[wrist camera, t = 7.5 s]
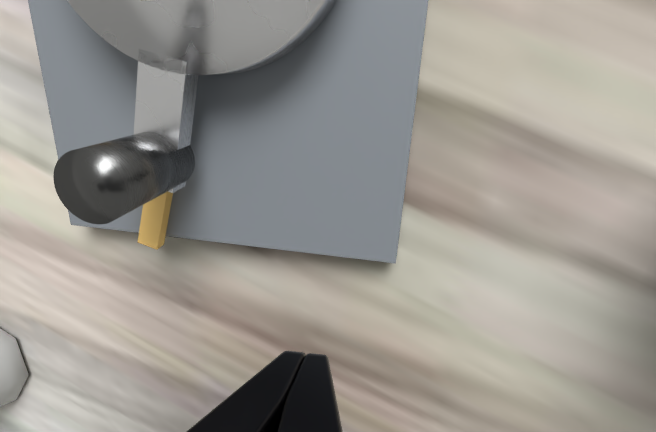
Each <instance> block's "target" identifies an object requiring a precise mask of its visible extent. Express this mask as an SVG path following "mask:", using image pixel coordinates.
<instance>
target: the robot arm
mask: <svg viewBox="0 0 656 432" xmlns="http://www.w3.org/2000/svg"><path fill="white" fill-rule="evenodd" d="M187 432H342V427H341V422H340V417H339V411H338V406H337V401H336V396H335V391H334V386H333V381H332V375H331V370H330V365H329V360H328V357H327V356H326V355H321V354H312V353H309V354H307V355H305V354H304V353H303V352H294V351H285V352H283V353H282V354H280V355H279V356H278V357H277V358H275V359H274V360H273V361H272V362H271V363H269V364H268V365H267V366H266V367H265V368H263V369H262V370H261V371H260V372H258V373H257V374H256V375H255V376H254V377H252V378H251V379H250V380H249V381H247V382H246V383H245V384H244V385H243V386H241V387H240V388H239V389H238V390H237V391H235V392H234V393H233V394H232V395H230V396H229V397H228V398H227V399H226V400H224V401H223V402H222V403H221V404H220V405H218V406H217V407H216V408H215V409H213V410H212V411H211V412H210V413H209V414H207V415H206V416H205V417H204V418H202V419H201V420H200V421H199V422H198V423H196V424H195V425H194V426H193V427H192V428H190V429H189V430H188V431H187Z"/></svg>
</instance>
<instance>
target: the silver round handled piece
mask: <svg viewBox="0 0 656 432" xmlns="http://www.w3.org/2000/svg"><path fill="white" fill-rule="evenodd" d="M67 1H68V2H69V4H70V5H71V6H72V8H73V9H74V10H75V12H76V13H77V14H78V15H79V16H80V17H81V18H82V19H83V20H84V21H85V22H86V23H87V24H88V25H89V27H90V28H91V29H93V30H94V31H95V32H96V33H97V34H98V35H100V36H101V37H102V38H103V39H104V40H105V41H107V42H108V43H109V44H111V45H112V46H114V47H115V48H117V49H118V50H120V51H121V52H123V53H124V54H126V55H128V56H130V57H132V58H134V59H136V60H137V61H138V72H137V88H136V104H135V120H134V135H130V136H126V137H122V138H118V139H114V140H110V141H106V142H103V143H99V144H95V145H91V146H87V147H83V148H79V149H75V150H71V151H69V152H67V153H65V154H64V155H62V156H61V157H60V159H59V160H58V162H57V163H56V166H55V169H54V184H55V189H56V192H57V194H58V196H59V198H60V200H61V201H62V203H63V204H64V206H65V207H66V208H67V209H68V210H69V211H70V212H71V213H72V214H73V215H75V216H76V217H78V218H79V219H81V220H83V221H85V222H88V223H91V224H107V223H110V222H112V221H114V220H116V219H118V218H119V217H121V216H123V215H125V214H127V213H129V212H131V211H132V210H134V209H136V208H138V207H140V206H142V205H144V204H145V203H147V202H149V201H151V200H153V199H155V198H157V197H158V196H160V195H162V194H164V193H166V192H171V193H174V192H176V191H177V190H179V189H181V188H183V187H185V184H186V181H187V180H188V179H189V178H190V177H191V175H192V173H193V171H194V167H195V157H194V153H193V150H192V148H191V146H190V141H191V133H192V124H193V116H194V108H195V99H196V91H197V82H198V75H214V74H231V73H241V72H245V71H249V70H253V69H257V68H260V67H262V66H265V65H267V64H270V63H272V62H274V61H276V60H278V59H279V58H281V57H283V56H284V55H286V54H288V53H289V52H291V51H292V50H293V49H295V48H296V47H297V46H298V45H300V44H301V43H302V42H303V41H305V39H306V38H307V37H308V36H309V35H310V34H311V33H312V32H313V31H314V30H315V29H316V28H317V27H318V26H319V25H320V23H321V22H322V21H323V19H324V18H325V16H326V15H327V14H328V12H329V11H330V10H331V8H332V6H333V5H334V3H335V1H336V0H67Z"/></svg>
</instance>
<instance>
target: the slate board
mask: <svg viewBox="0 0 656 432" xmlns="http://www.w3.org/2000/svg"><path fill="white" fill-rule="evenodd" d="M28 3H29V8H30V13H31V19H32V24H33V29H34V34H35V40H36V45H37V50H38V55H39V60H40V66H41V71H42V76H43V81H44V87H45V92H46V97H47V102H48V107H49V113H50V118H51V123H52V128H53V133H54V139H55V144H56V149H57V154H58V160H59V159H60V157H61V156H62V155H64V154H65V153H67V152H69V151H71V150H75V149H79V148H83V147H87V146H91V145H95V144H99V143H103V142H106V141H110V140H114V139H118V138H122V137H126V136H130V135H134V120H135V104H136V88H137V72H138V61H137V60H136V59H134V58H132V57H130V56H128V55H126V54H124V53H123V52H121V51H120V50H118V49H117V48H115V47H114V46H112V45H111V44H109V43H108V42H107V41H105V40H104V39H103V38H102V37H101V36H100V35H98V34H97V33H96V32H95V31H94V30H93V29H91V28H90V27H89V25H88V24H87V23H86V22H85V21H84V20H83V19H82V18H81V17H80V16H79V15H78V14H77V13H76V12H75V10H74V9H73V8H72V6H71V5H70V4H69V2H68V1H67V0H28ZM427 7H428V0H336V1H335V3H334V5H333V6H332V8H331V10H330V11H329V12H328V14H327V15H326V16H325V18H324V19H323V21H322V22H321V23H320V25H319V26H318V27H317V28H316V29H315V30H314V31H313V32H312V33H311V34H310V35H309V36H308V37H307V38H306V39H305V41H303V42H302V43H301V44H300V45H298V46H297V47H296V48H295V49H293V50H292V51H291V52H289V53H288V54H286V55H284V56H283V57H281V58H279V59H278V60H276V61H274V62H272V63H270V64H267V65H265V66H262V67H260V68H257V69H253V70H249V71H245V72H241V73H231V74H214V75H198V82H197V91H196V99H195V108H194V116H193V124H192V133H191V141H190V146H191V148H192V150H193V153H194V157H195V167H194V171H193V173H192V175H191V177H190V178H189V179H188V180H187V181H186V184H185V187H183V188H181V189H179V190H177V191H176V192H174V193H171V192H166V193H164V194H162V195H160V196H158V197H157V198H155V199H153V200H151V201H149V202H147V203H145V204H144V205H142V206H140V207H138V208H136V209H134V210H132V211H131V212H129V213H127V214H125V215H123V216H121V217H119V218H118V219H116V220H114V221H112V222H110V223H107V224H91V223H88V222H85V221H83V220H81V219H79V218H78V217H76V216H75V215H73V214H72V213H71V212H70V211H69V210H68V212H69V217H70V222H71V225H78V226H86V227H95V228H103V229H111V230H120V231H128V232H137V233H139V236H138V243H140V244H143V245H146V246H148V247H151V248H154V249H156V250H157V249H159V248H160V247H161V246H163V245H164V242H165V236H170V237H179V238H187V239H195V240H204V241H212V242H220V243H229V244H237V245H246V246H254V247H262V248H271V249H279V250H288V251H296V252H304V253H313V254H321V255H329V256H338V257H346V258H355V259H363V260H371V261H380V262H388V263H396V256H397V248H398V240H399V232H400V224H401V216H402V208H403V200H404V192H405V184H406V176H407V168H408V160H409V152H410V144H411V136H412V128H413V120H414V112H415V103H416V95H417V87H418V79H419V71H420V63H421V55H422V47H423V39H424V31H425V23H426V15H427Z"/></svg>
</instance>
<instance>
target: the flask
mask: <svg viewBox="0 0 656 432" xmlns="http://www.w3.org/2000/svg"><path fill="white" fill-rule="evenodd" d="M28 375H29V374H28V372H27V369H26V366H25V363H24V360H23V358H22V355H21V352H20V349H19V346H18V344H17V341H16V338H14V337H13V336H11V335H10V334H8V333H7V332H5V331H3V330H2V329H0V407H1V406H4V405H6V404H8V403H10V402H12V401H15V400H17V398H18V396H19V394H20V392H21V390H22V388H23V385H24V383H25V381H26V379H27V377H28Z"/></svg>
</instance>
